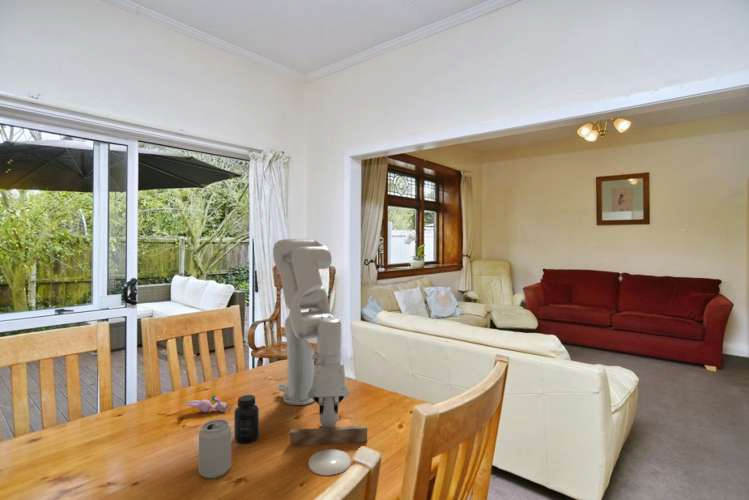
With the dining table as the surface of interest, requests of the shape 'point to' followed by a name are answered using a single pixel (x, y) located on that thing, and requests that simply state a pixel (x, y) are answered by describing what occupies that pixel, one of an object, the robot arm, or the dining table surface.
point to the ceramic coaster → (329, 462)
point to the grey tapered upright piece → (328, 413)
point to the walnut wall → (328, 435)
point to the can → (214, 448)
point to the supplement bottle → (246, 420)
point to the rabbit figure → (209, 405)
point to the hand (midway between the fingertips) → (328, 415)
